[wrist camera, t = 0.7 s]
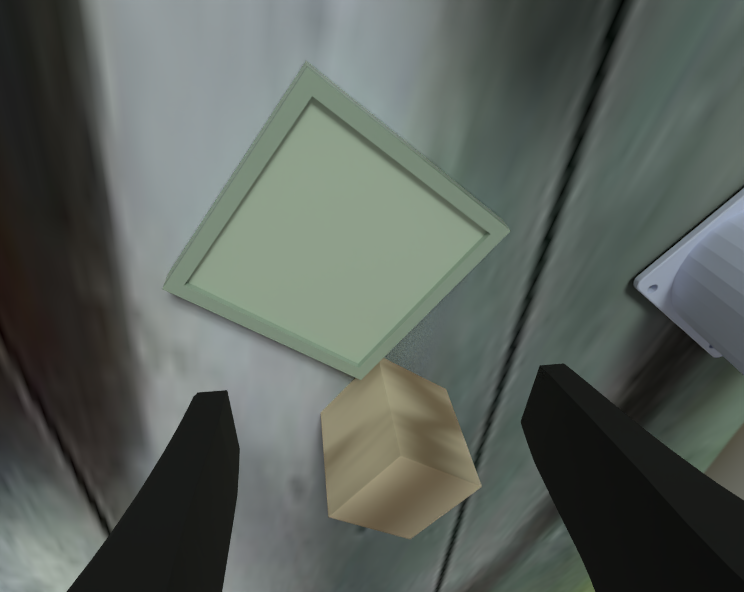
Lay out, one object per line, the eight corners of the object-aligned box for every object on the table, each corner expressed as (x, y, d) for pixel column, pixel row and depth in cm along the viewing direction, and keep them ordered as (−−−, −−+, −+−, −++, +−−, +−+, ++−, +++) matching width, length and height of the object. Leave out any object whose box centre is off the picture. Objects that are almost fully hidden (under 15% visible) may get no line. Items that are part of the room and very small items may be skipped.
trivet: (500, 218, 20) (510, 230, 19) (358, 364, 24) (361, 380, 23) (305, 60, 15) (307, 67, 14) (168, 273, 19) (162, 289, 18)
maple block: (446, 388, 26) (481, 486, 21) (388, 439, 28) (409, 539, 23) (377, 354, 24) (400, 455, 19) (320, 411, 26) (328, 516, 21)
